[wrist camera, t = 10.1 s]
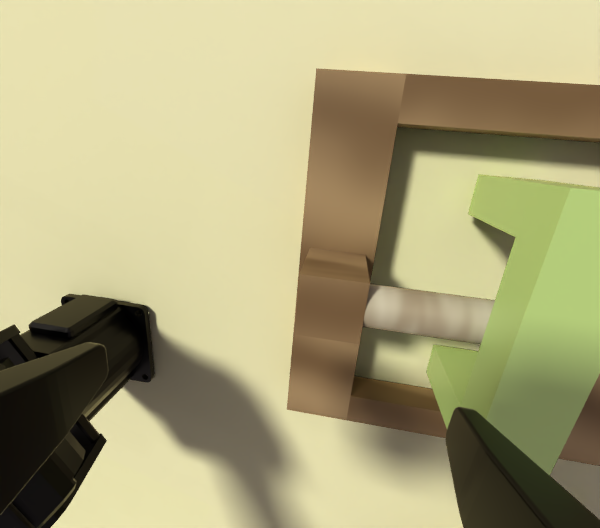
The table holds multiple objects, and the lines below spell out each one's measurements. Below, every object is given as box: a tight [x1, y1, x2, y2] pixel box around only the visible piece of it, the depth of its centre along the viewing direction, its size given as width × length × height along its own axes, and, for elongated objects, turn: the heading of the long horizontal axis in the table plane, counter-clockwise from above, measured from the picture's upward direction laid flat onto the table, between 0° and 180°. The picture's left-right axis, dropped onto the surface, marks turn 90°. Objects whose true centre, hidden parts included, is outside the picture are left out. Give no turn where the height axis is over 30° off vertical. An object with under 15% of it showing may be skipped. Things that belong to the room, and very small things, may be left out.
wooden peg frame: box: [287, 69, 600, 466], centre depth 16 cm, size 20×20×6 cm
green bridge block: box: [426, 175, 600, 475], centre depth 14 cm, size 12×3×7 cm, turn 175°
